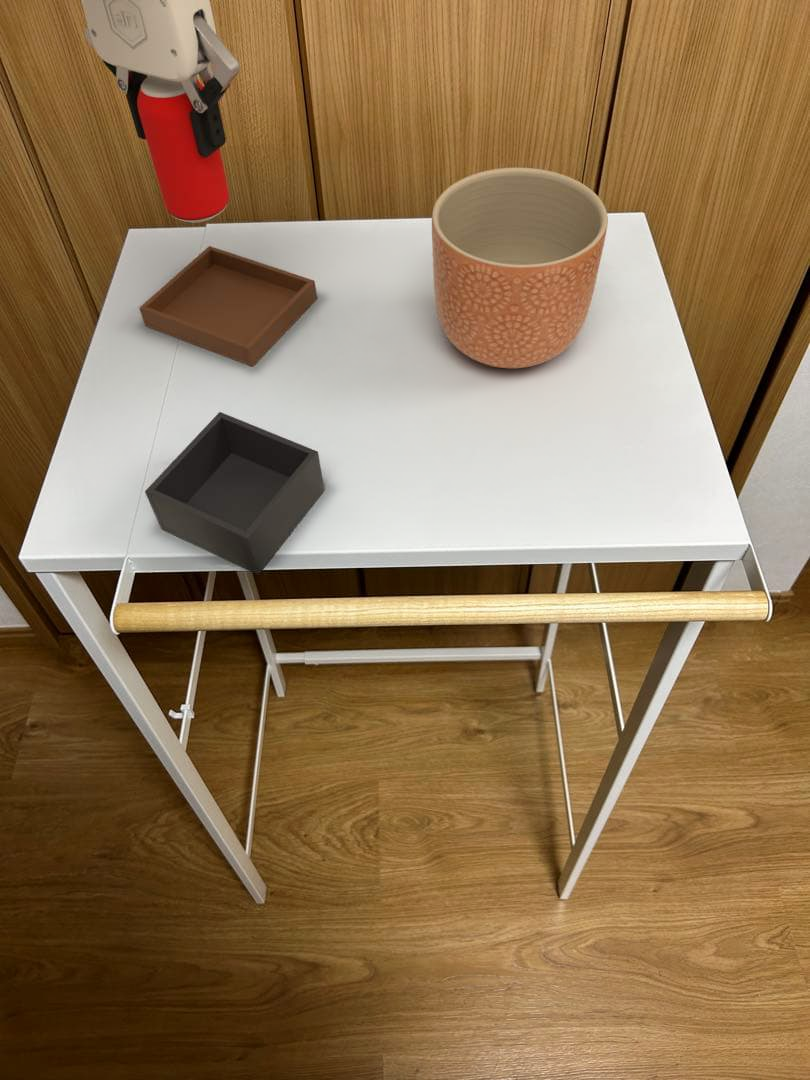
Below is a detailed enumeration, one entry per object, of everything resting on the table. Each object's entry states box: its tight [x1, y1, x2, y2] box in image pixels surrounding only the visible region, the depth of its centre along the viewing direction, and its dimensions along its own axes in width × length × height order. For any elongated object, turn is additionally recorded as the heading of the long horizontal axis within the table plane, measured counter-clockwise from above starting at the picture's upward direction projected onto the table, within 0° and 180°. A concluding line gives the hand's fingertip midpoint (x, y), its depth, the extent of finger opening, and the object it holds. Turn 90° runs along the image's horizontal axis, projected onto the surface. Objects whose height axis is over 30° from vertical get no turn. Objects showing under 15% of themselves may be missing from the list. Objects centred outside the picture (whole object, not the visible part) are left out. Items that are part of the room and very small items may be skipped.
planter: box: [431, 167, 609, 369], centre depth 87 cm, size 17×17×15 cm
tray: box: [138, 245, 318, 367], centre depth 96 cm, size 15×13×3 cm
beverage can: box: [137, 75, 230, 224], centre depth 75 cm, size 6×6×12 cm
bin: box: [144, 411, 325, 576], centre depth 77 cm, size 11×11×6 cm
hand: (182, 139), depth 75 cm, fingers closed on beverage can, 6 cm apart
